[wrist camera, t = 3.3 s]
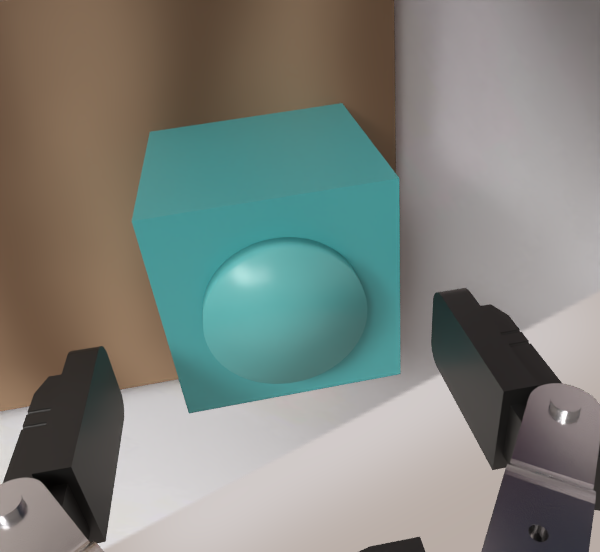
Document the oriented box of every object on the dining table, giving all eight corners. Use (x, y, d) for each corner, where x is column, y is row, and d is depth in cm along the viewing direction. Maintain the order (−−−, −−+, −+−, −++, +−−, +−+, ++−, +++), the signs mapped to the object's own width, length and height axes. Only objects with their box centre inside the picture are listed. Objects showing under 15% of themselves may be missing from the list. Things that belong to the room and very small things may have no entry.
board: (379, -53, 17) (455, -38, 12) (387, 317, 25) (435, 420, 20) (-535, 65, 15) (-893, 142, 10) (-219, 425, 23) (-335, 569, 18)
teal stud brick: (342, 103, 18) (407, 189, 12) (352, 264, 21) (406, 388, 16) (149, 132, 17) (128, 234, 12) (190, 291, 21) (188, 429, 15)
